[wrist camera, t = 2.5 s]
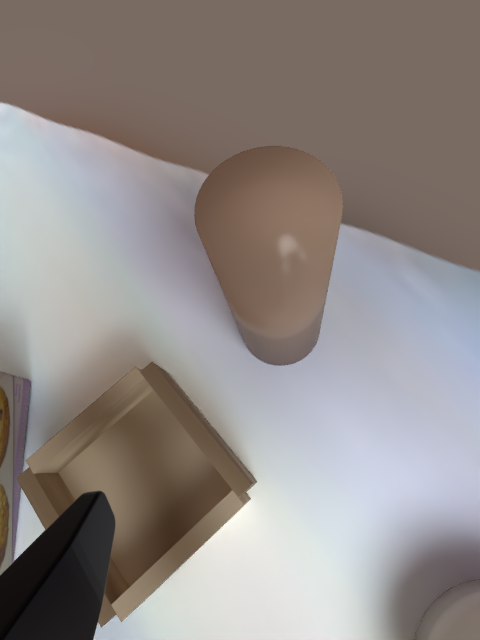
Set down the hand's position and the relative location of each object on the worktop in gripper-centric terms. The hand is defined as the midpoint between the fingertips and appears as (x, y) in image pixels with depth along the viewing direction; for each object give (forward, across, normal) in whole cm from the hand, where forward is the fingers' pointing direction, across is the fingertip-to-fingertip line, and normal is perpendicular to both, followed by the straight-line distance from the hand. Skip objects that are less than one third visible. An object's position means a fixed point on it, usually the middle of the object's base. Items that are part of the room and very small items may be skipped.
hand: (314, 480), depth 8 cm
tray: (+10, +8, +9) cm, 16 cm away
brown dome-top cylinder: (+15, 0, +4) cm, 16 cm away
